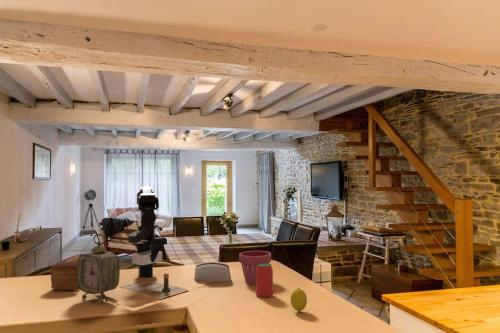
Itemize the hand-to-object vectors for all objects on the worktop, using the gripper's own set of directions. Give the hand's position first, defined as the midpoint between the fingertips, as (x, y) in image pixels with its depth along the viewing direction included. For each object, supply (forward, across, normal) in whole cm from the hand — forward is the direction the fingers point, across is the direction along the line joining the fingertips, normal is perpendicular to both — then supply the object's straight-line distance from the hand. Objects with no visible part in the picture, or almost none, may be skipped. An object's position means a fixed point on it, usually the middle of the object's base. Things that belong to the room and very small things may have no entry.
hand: (147, 260), depth 156 cm
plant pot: (+12, +30, +36) cm, 48 cm away
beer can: (+12, +45, +21) cm, 51 cm away
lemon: (+12, +65, +12) cm, 67 cm away
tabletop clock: (+12, -3, -20) cm, 23 cm away
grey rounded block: (+12, +13, +26) cm, 31 cm away
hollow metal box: (+1, 0, 0) cm, 1 cm away
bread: (+12, -33, -11) cm, 37 cm away
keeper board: (+12, +3, 0) cm, 12 cm away
